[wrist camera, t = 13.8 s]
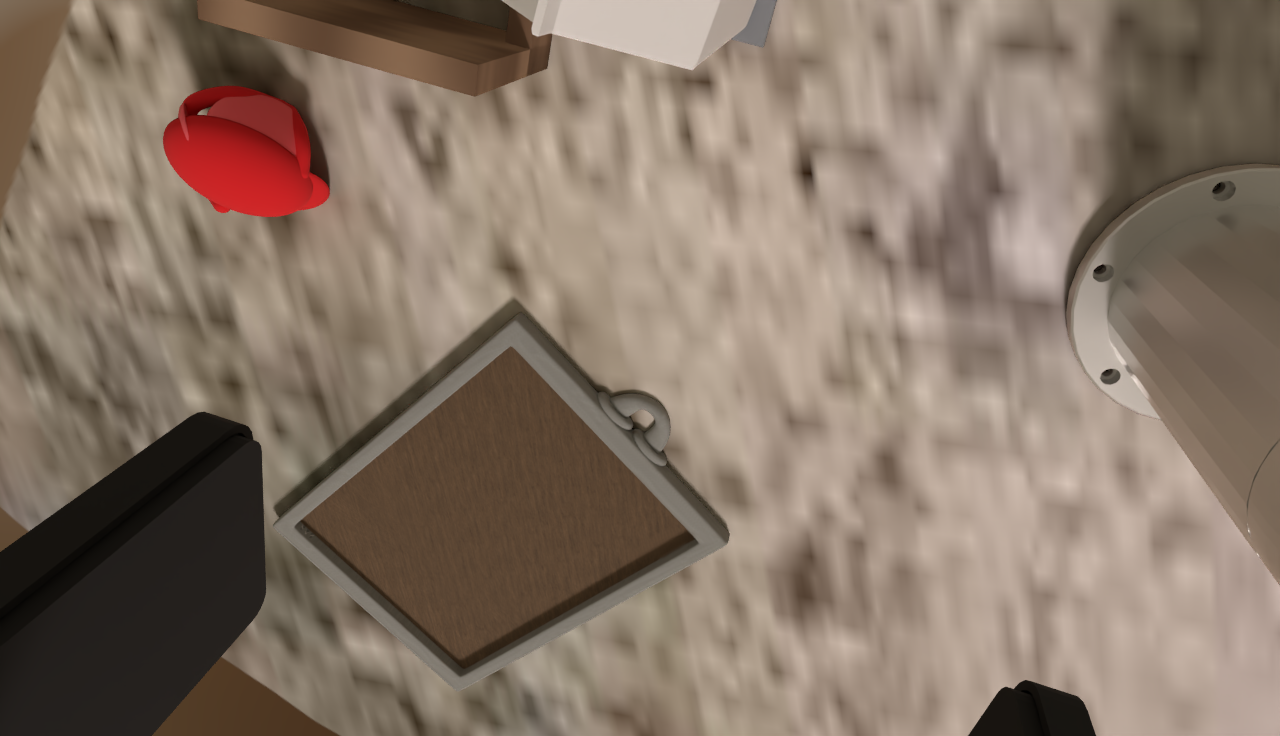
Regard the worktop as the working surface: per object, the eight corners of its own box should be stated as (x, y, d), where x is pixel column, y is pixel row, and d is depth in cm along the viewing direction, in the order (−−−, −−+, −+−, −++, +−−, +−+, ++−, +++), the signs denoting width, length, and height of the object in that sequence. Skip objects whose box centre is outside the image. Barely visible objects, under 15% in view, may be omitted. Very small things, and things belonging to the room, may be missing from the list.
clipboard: (269, 526, 57) (545, 291, 43) (283, 513, 58) (554, 280, 45) (457, 693, 61) (763, 527, 47) (465, 677, 62) (765, 510, 49)
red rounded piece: (143, 130, 41) (163, 234, 40) (166, 63, 37) (189, 177, 36) (297, 146, 47) (318, 238, 46) (333, 89, 43) (357, 189, 42)
